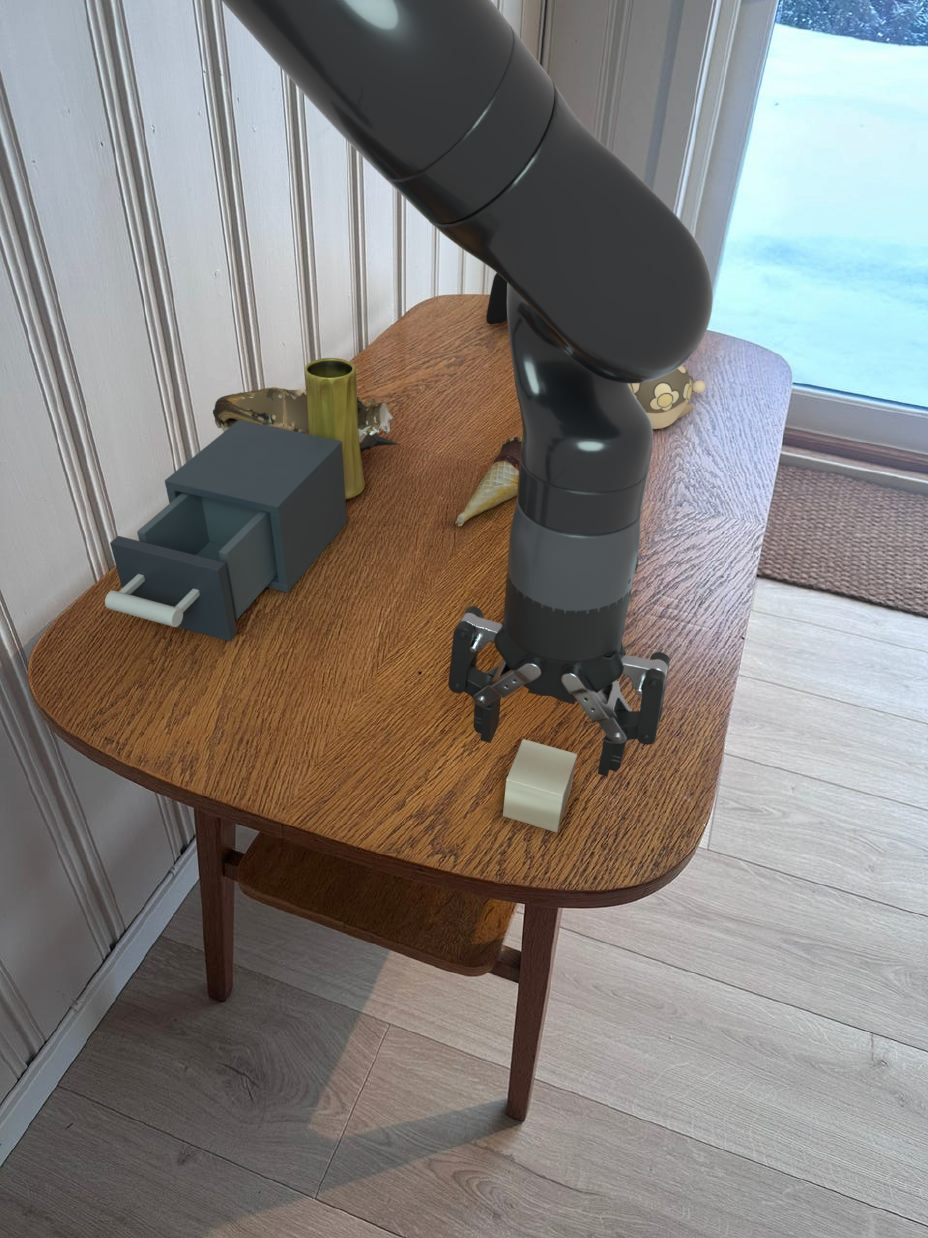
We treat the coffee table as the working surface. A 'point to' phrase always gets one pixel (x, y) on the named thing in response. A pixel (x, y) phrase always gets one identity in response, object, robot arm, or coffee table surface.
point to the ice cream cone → (496, 481)
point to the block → (539, 785)
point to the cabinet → (274, 488)
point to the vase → (336, 413)
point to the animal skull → (297, 413)
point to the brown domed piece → (667, 396)
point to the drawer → (195, 565)
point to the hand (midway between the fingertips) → (546, 750)
